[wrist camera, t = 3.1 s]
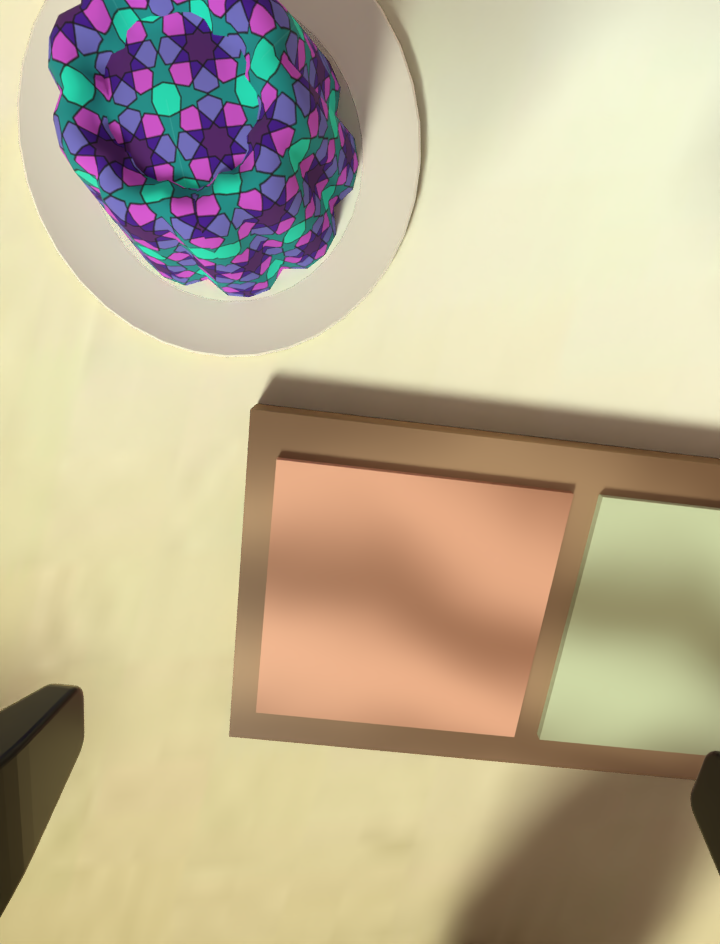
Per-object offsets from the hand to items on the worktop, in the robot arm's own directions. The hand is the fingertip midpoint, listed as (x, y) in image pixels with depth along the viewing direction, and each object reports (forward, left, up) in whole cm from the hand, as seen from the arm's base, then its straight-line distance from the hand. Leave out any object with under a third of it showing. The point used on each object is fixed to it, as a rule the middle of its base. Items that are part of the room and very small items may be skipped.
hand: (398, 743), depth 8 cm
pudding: (+10, +6, -13) cm, 17 cm away
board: (-4, -7, -12) cm, 15 cm away
